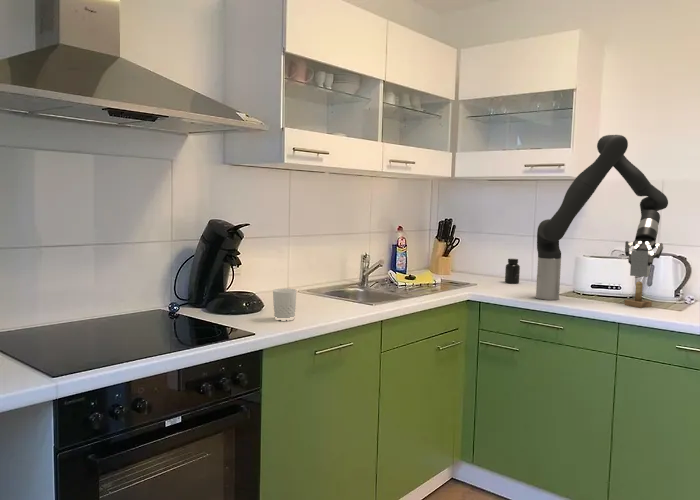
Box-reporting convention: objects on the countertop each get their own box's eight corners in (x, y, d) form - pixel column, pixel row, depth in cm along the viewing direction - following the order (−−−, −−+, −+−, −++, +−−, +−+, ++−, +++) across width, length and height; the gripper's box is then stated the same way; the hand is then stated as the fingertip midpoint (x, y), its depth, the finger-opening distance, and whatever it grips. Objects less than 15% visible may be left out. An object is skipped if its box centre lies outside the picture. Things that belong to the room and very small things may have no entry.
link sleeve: (630, 275, 232) (631, 250, 231) (633, 273, 237) (634, 249, 236) (646, 276, 229) (648, 251, 228) (649, 275, 234) (651, 250, 233)
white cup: (280, 323, 194) (280, 293, 193) (268, 318, 201) (268, 289, 200) (300, 320, 199) (300, 291, 198) (288, 316, 205) (289, 287, 204)
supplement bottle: (519, 284, 287) (520, 259, 285) (505, 283, 288) (506, 259, 287) (518, 282, 293) (519, 258, 292) (504, 281, 295) (505, 257, 294)
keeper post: (640, 308, 229) (642, 283, 228) (624, 305, 235) (625, 280, 234) (651, 306, 233) (653, 282, 232) (635, 303, 239) (636, 279, 238)
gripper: (626, 225, 241) (618, 256, 233) (666, 226, 233) (659, 259, 224) (628, 237, 246) (621, 268, 238) (667, 239, 238) (660, 271, 229)
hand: (639, 263), depth 231 cm, fingers closed on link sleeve, 6 cm apart
